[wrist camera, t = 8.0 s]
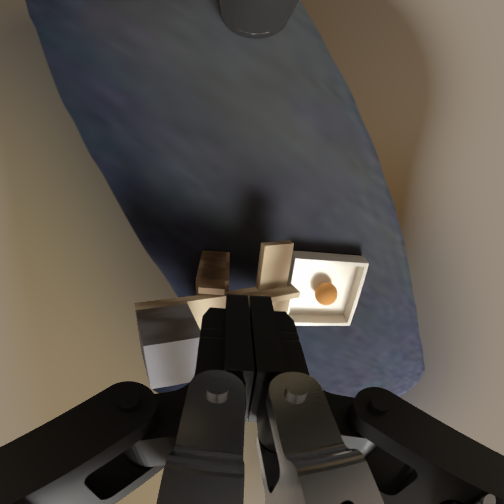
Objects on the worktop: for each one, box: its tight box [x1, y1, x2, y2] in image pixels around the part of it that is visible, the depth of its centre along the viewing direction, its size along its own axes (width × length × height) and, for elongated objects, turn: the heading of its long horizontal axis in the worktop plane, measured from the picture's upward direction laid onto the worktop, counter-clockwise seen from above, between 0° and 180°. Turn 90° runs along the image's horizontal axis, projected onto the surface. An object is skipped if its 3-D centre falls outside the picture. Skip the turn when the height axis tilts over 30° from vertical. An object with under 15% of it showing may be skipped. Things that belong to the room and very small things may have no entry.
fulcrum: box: [196, 250, 230, 295], centre depth 40 cm, size 4×10×10 cm, turn 174°
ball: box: [315, 283, 337, 305], centre depth 44 cm, size 4×4×4 cm
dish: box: [287, 251, 369, 326], centre depth 45 cm, size 12×12×3 cm
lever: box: [135, 240, 300, 389], centre depth 32 cm, size 20×13×7 cm, turn 85°
